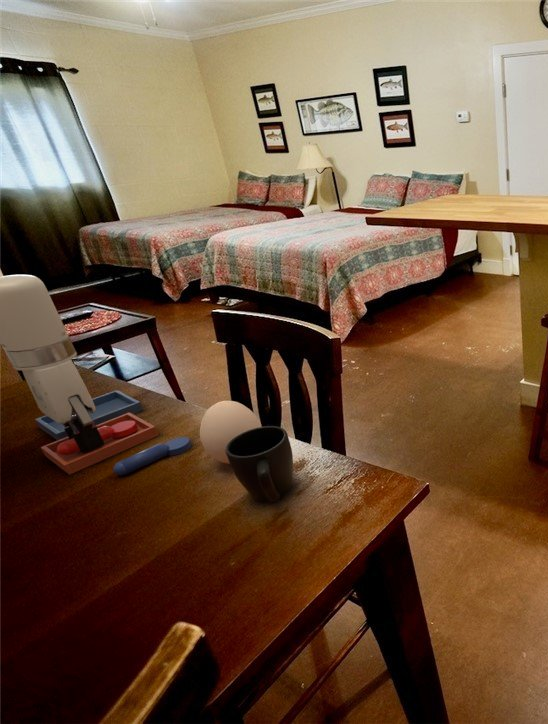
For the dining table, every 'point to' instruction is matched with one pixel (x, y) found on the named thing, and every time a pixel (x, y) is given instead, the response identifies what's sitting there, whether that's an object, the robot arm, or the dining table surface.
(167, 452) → the blue spoon
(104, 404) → the blue tray
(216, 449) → the egg
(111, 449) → the terracotta tray
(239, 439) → the mug
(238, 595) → the dining table surface
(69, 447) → the red spoon
